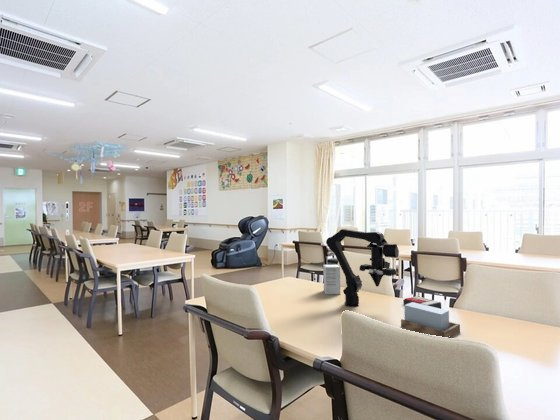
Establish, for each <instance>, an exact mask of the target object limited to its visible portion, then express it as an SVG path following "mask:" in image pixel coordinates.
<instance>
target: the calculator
mask: <svg viewBox="0 0 560 420" xmlns="http://www.w3.org/2000/svg"><path fill="white" fill-rule="evenodd" d="M411 302H414V303H419V304H423V305H427V306H431V307H435V308H440V309H442V302H441V301H438V300H433V299H431V298H426V297H422V296H412V297H407V298H404V299H403V305H406V304H409V303H411Z"/></svg>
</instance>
